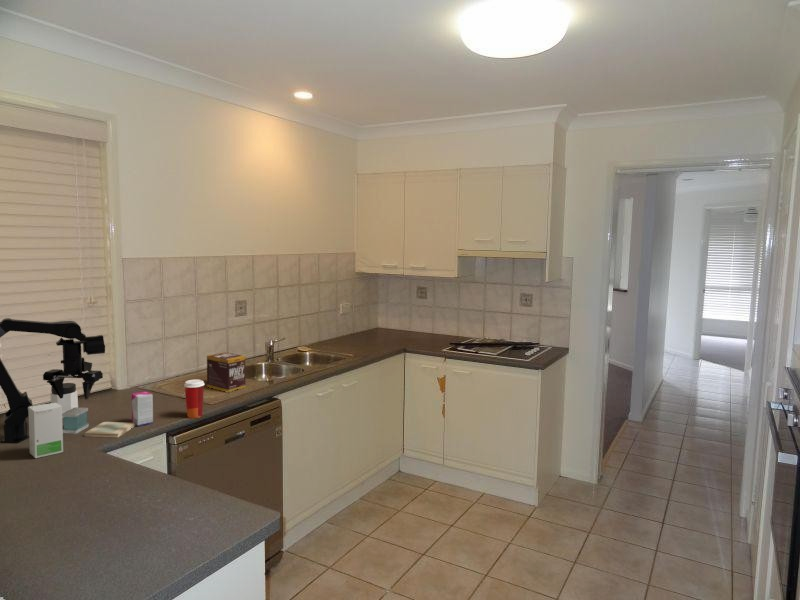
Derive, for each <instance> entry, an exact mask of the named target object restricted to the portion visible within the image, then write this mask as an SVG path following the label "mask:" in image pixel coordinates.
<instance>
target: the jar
mask: <svg viewBox="0 0 800 600" xmlns="http://www.w3.org/2000/svg"><path fill="white" fill-rule="evenodd" d="M50 403H57V404H59V405H61V406H62V413H64V412H66V411H68V410H70V409H73V408H75V407H78V408H79V400H78V390H77V384H76V383H74V382H63V398H62V399H60V397H59V396H58V394H57V393H56V391H55V390H54V388H53V387H52V386H51V390H50ZM62 419H63V417H62Z"/></svg>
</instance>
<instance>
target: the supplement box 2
mask: <svg viewBox="0 0 800 600" xmlns="http://www.w3.org/2000/svg"><path fill="white" fill-rule="evenodd" d="M208 387H209V388H208ZM243 387H247V386H246V356H245V355H240V354H238V353H237V354H235V353H232V352H226V351H224V352H223V351H222V352H219V353H213V354H207V355H206V388H208V389H211V388H213V389H212V390H215V389H217V390H216V391H219V390H221V391H220V392H223V391H228V392H229V391H232V390H235V389H239V388H243Z"/></svg>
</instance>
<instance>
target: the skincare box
mask: <svg viewBox="0 0 800 600" xmlns="http://www.w3.org/2000/svg"><path fill="white" fill-rule="evenodd" d="M28 413H29V416H28V435H29V438H28V439H29V440H28V442H29V454H30V455H31V456H32V457H33V458H35V459H38V458H43V457H47V456H52V455H57V454H60V453H61V454H62V453H64V433H63V430H64V429H63V418H62V406H61V405H59V404H57V403H51V402H50V403H43V404H37V405H33V406H30V407H28Z"/></svg>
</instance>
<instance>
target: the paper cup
mask: <svg viewBox="0 0 800 600" xmlns="http://www.w3.org/2000/svg"><path fill="white" fill-rule="evenodd" d="M205 385H206V384H205V382H204V380H202V379H189V380H185V382H184V384H183V387H184V392H185V395H184V396H185V405H186V415H187V418H188V419H199V418H202V417H203V414H204V409H203V408H204V392H205V391H204V388H205V387H204V386H205Z"/></svg>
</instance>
